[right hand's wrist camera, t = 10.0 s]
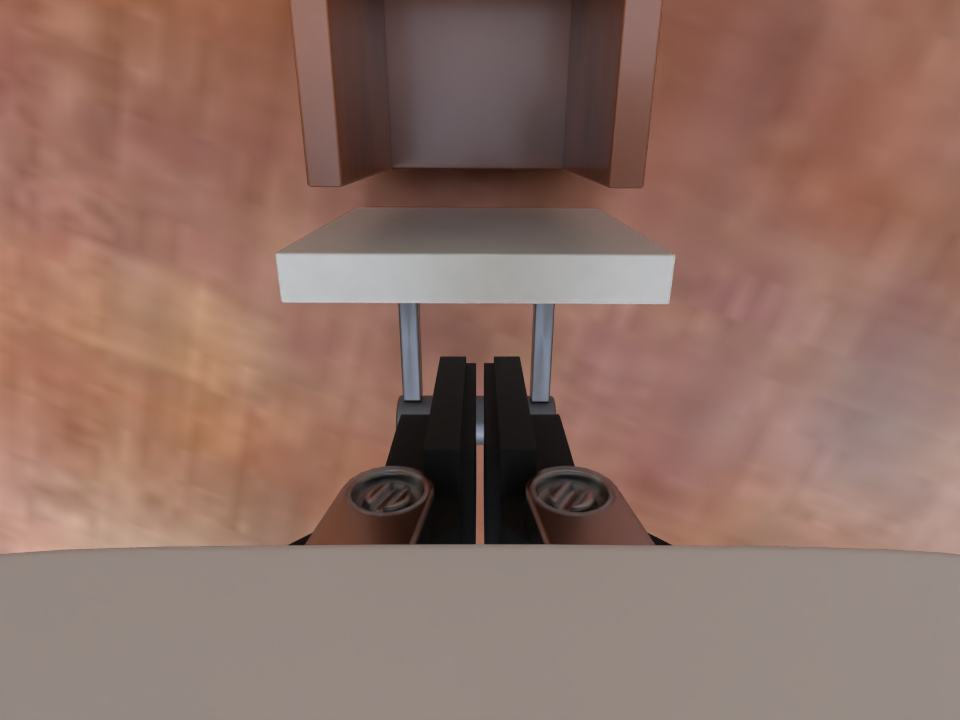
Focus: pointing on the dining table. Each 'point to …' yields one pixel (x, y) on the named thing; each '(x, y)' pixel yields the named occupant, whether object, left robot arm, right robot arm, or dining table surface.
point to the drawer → (475, 158)
